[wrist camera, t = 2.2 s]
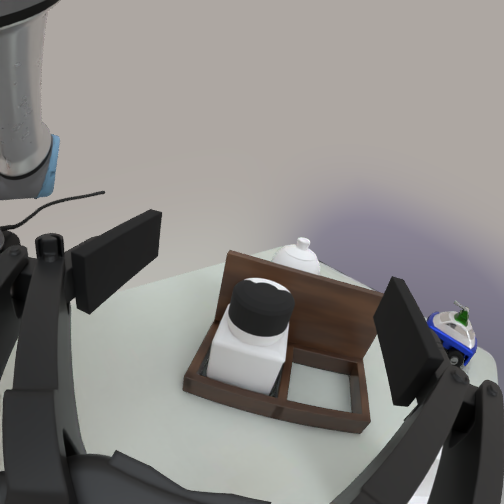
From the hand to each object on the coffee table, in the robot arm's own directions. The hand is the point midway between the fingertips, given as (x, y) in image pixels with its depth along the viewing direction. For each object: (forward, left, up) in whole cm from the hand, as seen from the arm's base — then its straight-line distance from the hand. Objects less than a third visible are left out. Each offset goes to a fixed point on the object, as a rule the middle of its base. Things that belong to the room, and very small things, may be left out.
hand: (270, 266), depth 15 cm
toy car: (-8, +42, -19) cm, 47 cm away
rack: (-7, +8, -19) cm, 22 cm away
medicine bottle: (-9, +4, -19) cm, 22 cm away
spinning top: (-23, +14, -19) cm, 33 cm away
